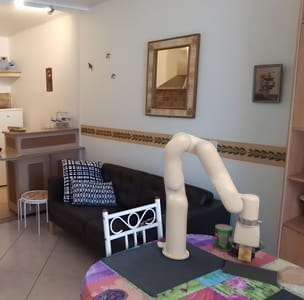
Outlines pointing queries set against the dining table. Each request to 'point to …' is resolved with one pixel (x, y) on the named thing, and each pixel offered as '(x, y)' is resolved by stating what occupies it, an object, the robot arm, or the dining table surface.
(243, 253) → the block
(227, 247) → the canned tomato
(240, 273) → the mat
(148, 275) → the dining table surface
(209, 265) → the dining table surface
